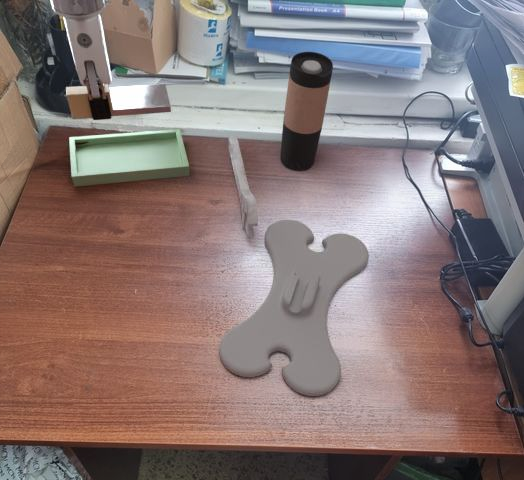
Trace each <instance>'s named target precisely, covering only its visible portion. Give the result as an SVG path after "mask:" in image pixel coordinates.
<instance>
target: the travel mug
mask: <svg viewBox="0 0 524 480" xmlns="http://www.w3.org/2000/svg"><path fill="white" fill-rule="evenodd" d="M289 67H290V68H289V75H288V83H287V88H286V89H287V90H286V97H285V105H284V113H283V119H282V120H283V121H282V133H281V144H280V157H279V159H280V162H281V163H282V165H283V166H284V167H285V168H287V169H289V170H290V171H296V172H302V171H303V172H304V171H307V170H309V169H311V168H312V167H313V166H314V163H315V159H316V156H317V151H318V147H319V142H320V138H321V133H322V129H323V125H324V121H325V120H324V118H325V115H326V110H327V109H326V108H327V103H328V97H329V91H330V88H331V82H332V81H331V80H332V75H333V69H334V64H333V61H332V60H331V59H330V58H329V57H328V56H327V55H325V54H322V53H319V52H316V51H301V52H298V53H296V54H295V55H293V56H292V58H291V60H290V66H289Z"/></svg>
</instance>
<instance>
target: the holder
mask: <svg viewBox="0 0 524 480" xmlns="http://www.w3.org/2000/svg"><path fill="white" fill-rule="evenodd" d="M263 239H264V240H263V242H264V246H265V248H266V250H267V252H268V253H269V256H270V259H271V262H272V269H273V279H272V284H271V287H270V290H269V292H268V294H267V297H266V298H265V300H264V301H263V303H262V304H261V306H259V308H258V309H257V310H256V311H255V312H254V313H252V315H250V316H249V317H248V318H247V319H245V320H243V321H241V323H239V324H237V325H235V326H233V327H231V328H230V329H228V331H226V332H225V333H224V334H223V336H222V337H221V340H220V342H219V347H218V354H219V359H220V361H221V363H222V364H223V366H224V367H225V368H226V369H227V370H228V371H230V373H233V374H234V375H236V376H240V377H243V378H255V377H258V376H262V375H264V374H266V373H267V372H269V371H270V370H271V369H272V368H273V364H272V363H271V361H270V356H271V354H273V353H275V352H282V353H285V354H286V355H287V356H288V357H289V358H290V362H289V364H287V365H286V366H282V367H281V374H282V377H283V379H284V381H285V383H286V384H287V385H288V387H290V388H291V389H292V390H293V391H295V392H297V393H298V394H301V395H304V396H309V397H318V396H322V395H325V394H328V393H329V392H330V391H332V390H333V389H335V387H336V386H337V385H338V383H339V380H340V378H341V374H342V365H341V361H340V359H339V358H338V356H337V354H336V352H335V349H334V347H333V345H332V341H331V340H330V336H329V330H328V310H329V307H330V303H331V301H332V298H333V297H334V295H335V294H336V292H337V291H338V289H339V288H340V287H341V286H342V285H343V284H344V283H345V282H346V281H347V280H349V279H350V278H352V277H353V276H355V275H357V274H358V273H360V272H362V271H363V270H364V269H365V268H366V266H367V264H368V261H369V257H370V254H369V250H368V248H367V246H366V244H365V243H364V242H363V241H362V240H361V239H359V238H358V237H356V236H354V235H351V234H348V233H333V234H329V235H327V236H326V237H324V238H323V239H322V241H321V245H322V246H323V247H324V249H323V250H322V251H314V250H312V249H310V248H309V247H308V244H311V243H314V242H315V235H314V232H313V231H312V230H311V228H309V227H308V226H307V225H306V224H304V223H303V222H301V221H298V220H295V219H281V220H277V221H274V222H273V223H271V224H270V225H269V226H268V227H267V229H266V230H265V233H264V238H263Z"/></svg>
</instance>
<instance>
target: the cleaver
mask: <svg viewBox="0 0 524 480" xmlns="http://www.w3.org/2000/svg"><path fill="white" fill-rule="evenodd" d="M98 88H101V86H100V85H98ZM104 89H105V94H106V95H107V96H108V101H109V106H110V111H111V117H123V116H135V115H150V114H162V113H163V114H164V113H165V114H166V113H171V112H172V108H171V106H172V105H171V102H170V99H169V94H168V90H167V86H166V83H162V84H161V83H157V84H146V85H145V84H143V85H129V86H126V85H125V86H113V87H112V86H111V87H110V85H108V84H104ZM65 92H66V99H67V102H68V106H69V110H70V114H71V117H72V120H81V119H82V120H83V119H93V118H92V114H91V109H90V105H89V101H88V97H89V96H88V91H87V87H86V85H85V86H83V85H81V86H80V85H78V86H66V87H65Z"/></svg>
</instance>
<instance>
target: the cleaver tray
mask: <svg viewBox="0 0 524 480" xmlns="http://www.w3.org/2000/svg"><path fill="white" fill-rule="evenodd" d="M68 142H69V159H70V175H71V176H70V177H71V180H72V184H73V187H86V186H95V185H107V184H119V183H127V182H138V181H149V180H161V179H170V178H183V177H190V176H191V175H190V164H189V160H188V157H187V156H188V155H187V152H186V148H185V147H186V146H185V145H184V140H183V136H182V132H181V129H180V128H173V129H158V130H148V131H134V132H121V133H108V134H106V133H105V134H96V135H95V134H94V135H93V134H92V135H80V136H70V137H68ZM79 143H80V144H79ZM81 143H82V144H81ZM76 144H79V145H76Z"/></svg>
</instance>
